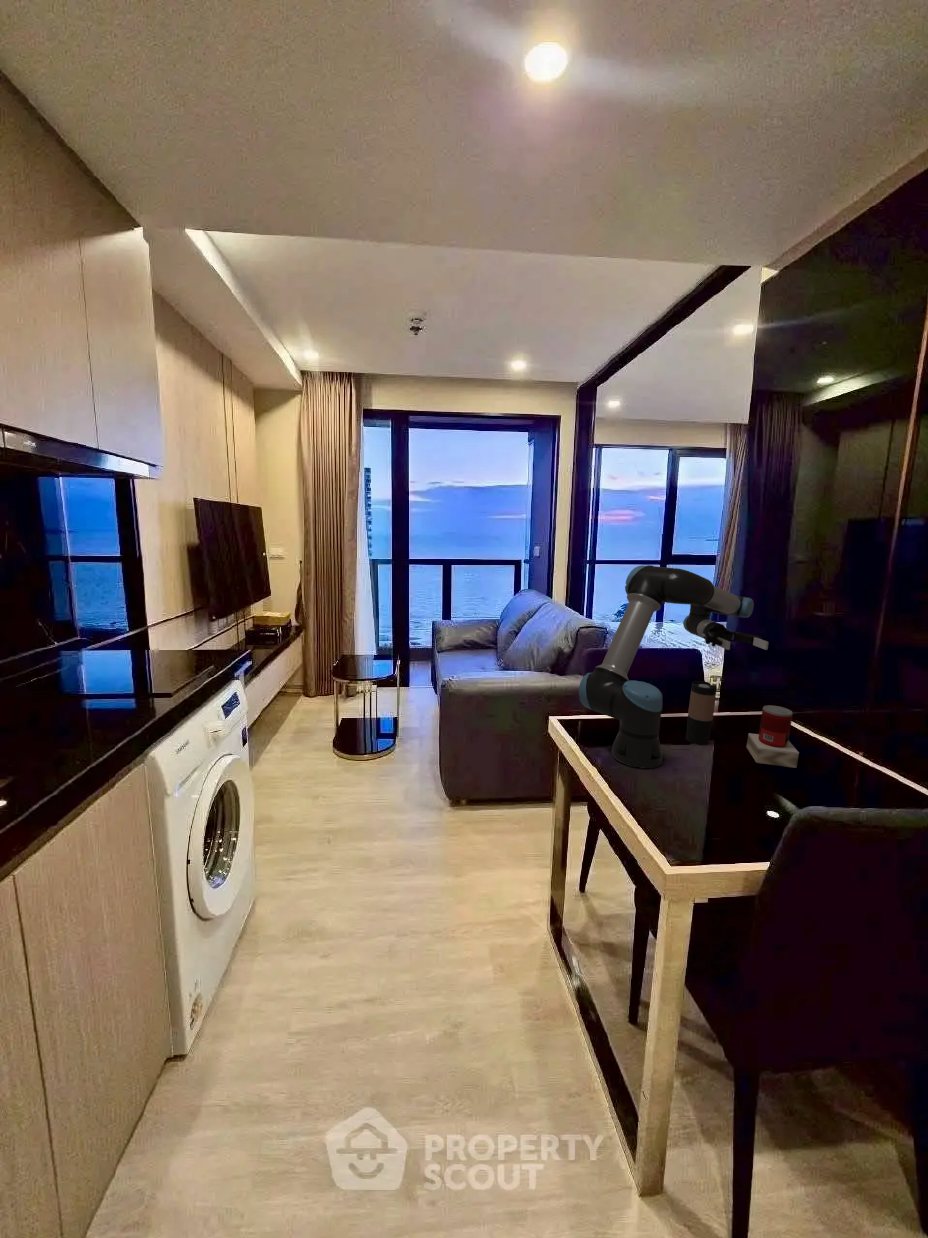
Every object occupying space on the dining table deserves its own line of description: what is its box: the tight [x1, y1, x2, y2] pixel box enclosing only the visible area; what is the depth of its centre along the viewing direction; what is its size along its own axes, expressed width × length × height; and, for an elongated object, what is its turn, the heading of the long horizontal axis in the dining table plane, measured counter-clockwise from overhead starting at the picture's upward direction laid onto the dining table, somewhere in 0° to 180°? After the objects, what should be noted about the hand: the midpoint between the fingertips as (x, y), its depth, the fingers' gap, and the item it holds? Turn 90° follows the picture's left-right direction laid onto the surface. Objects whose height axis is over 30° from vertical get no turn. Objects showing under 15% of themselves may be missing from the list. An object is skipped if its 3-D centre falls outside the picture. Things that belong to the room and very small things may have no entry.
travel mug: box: [685, 680, 718, 746], centre depth 168 cm, size 8×8×20 cm
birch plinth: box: [746, 732, 800, 769], centre depth 159 cm, size 11×11×5 cm
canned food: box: [758, 704, 794, 748], centre depth 157 cm, size 8×8×11 cm
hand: (748, 646), depth 169 cm, fingers open, 13 cm apart
